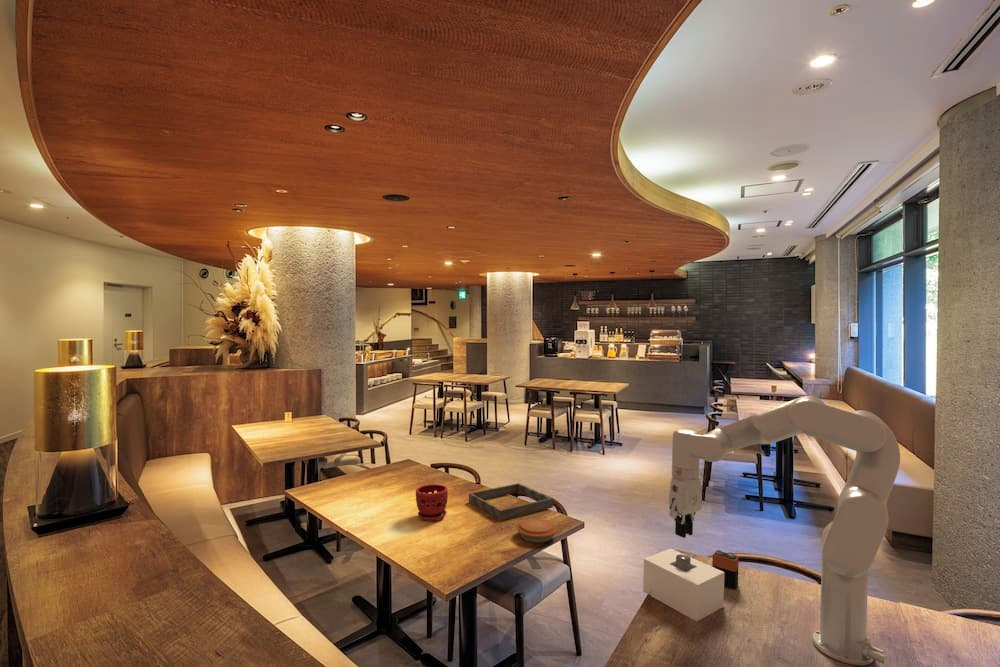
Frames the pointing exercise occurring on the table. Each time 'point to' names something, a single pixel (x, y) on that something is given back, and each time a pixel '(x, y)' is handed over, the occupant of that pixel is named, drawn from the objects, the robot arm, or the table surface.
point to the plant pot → (431, 502)
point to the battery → (727, 567)
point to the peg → (683, 562)
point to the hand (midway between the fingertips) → (683, 534)
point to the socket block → (684, 584)
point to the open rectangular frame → (540, 504)
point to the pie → (536, 530)
